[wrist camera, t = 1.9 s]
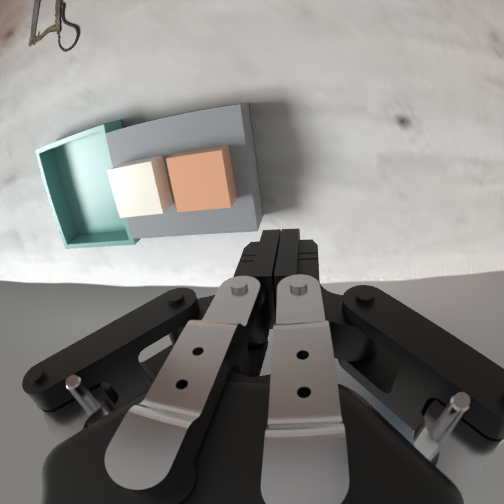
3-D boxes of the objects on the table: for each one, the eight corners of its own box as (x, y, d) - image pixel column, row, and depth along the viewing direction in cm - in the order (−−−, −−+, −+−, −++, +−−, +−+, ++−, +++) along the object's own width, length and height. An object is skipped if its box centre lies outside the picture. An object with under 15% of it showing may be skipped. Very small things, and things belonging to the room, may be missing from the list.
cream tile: (162, 155, 27) (150, 161, 25) (173, 203, 29) (163, 213, 27) (120, 163, 28) (106, 170, 26) (131, 208, 30) (120, 218, 28)
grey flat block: (248, 102, 27) (240, 104, 24) (263, 215, 33) (257, 231, 29) (125, 127, 30) (105, 133, 26) (148, 223, 35) (133, 238, 32)
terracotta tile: (228, 145, 26) (221, 150, 23) (237, 198, 28) (231, 207, 26) (176, 152, 27) (165, 158, 24) (187, 202, 29) (177, 212, 27)
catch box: (121, 119, 29) (103, 124, 26) (147, 231, 36) (134, 244, 33) (52, 143, 32) (35, 150, 29) (80, 236, 38) (65, 248, 35)
